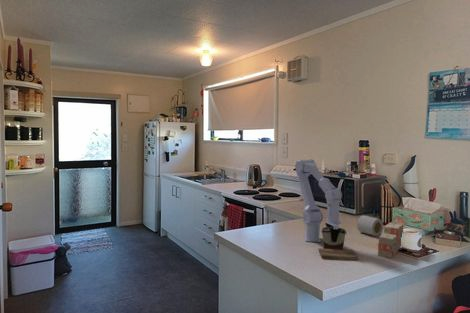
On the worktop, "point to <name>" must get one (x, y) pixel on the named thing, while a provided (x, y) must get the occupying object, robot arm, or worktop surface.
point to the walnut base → (337, 254)
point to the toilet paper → (370, 225)
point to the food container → (328, 242)
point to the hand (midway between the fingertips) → (332, 239)
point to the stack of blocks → (390, 240)
